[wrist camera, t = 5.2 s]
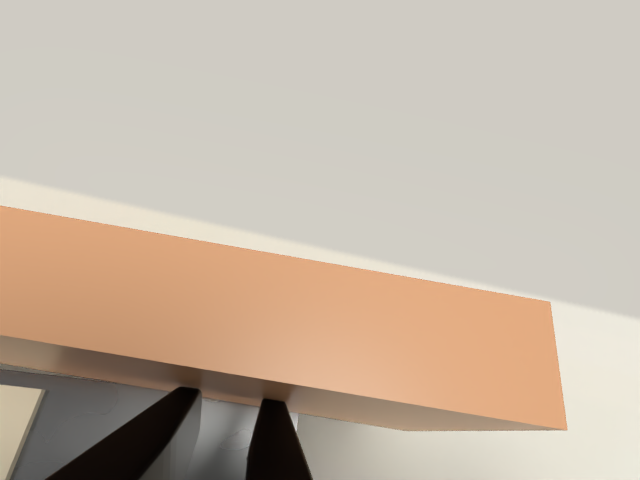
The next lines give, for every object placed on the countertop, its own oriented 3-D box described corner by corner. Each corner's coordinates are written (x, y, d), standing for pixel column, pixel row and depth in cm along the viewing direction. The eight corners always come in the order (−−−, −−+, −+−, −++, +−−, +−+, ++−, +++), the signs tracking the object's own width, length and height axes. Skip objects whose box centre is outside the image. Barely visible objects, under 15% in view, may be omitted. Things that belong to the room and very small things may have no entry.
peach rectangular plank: (406, 431, 10) (568, 430, 4) (-180, 333, 9) (-794, 201, 4) (409, 369, 10) (550, 302, 5) (-137, 276, 10) (-613, 98, 5)
